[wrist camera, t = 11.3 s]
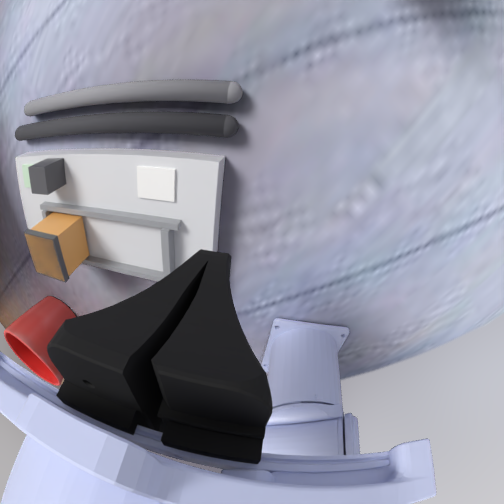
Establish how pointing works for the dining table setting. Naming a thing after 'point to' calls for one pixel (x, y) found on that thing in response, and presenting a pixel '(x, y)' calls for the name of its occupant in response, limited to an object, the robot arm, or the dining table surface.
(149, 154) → the white base panel
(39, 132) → the cord
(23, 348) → the flower pot
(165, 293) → the robot arm
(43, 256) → the lever
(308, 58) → the dining table surface
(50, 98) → the cord
